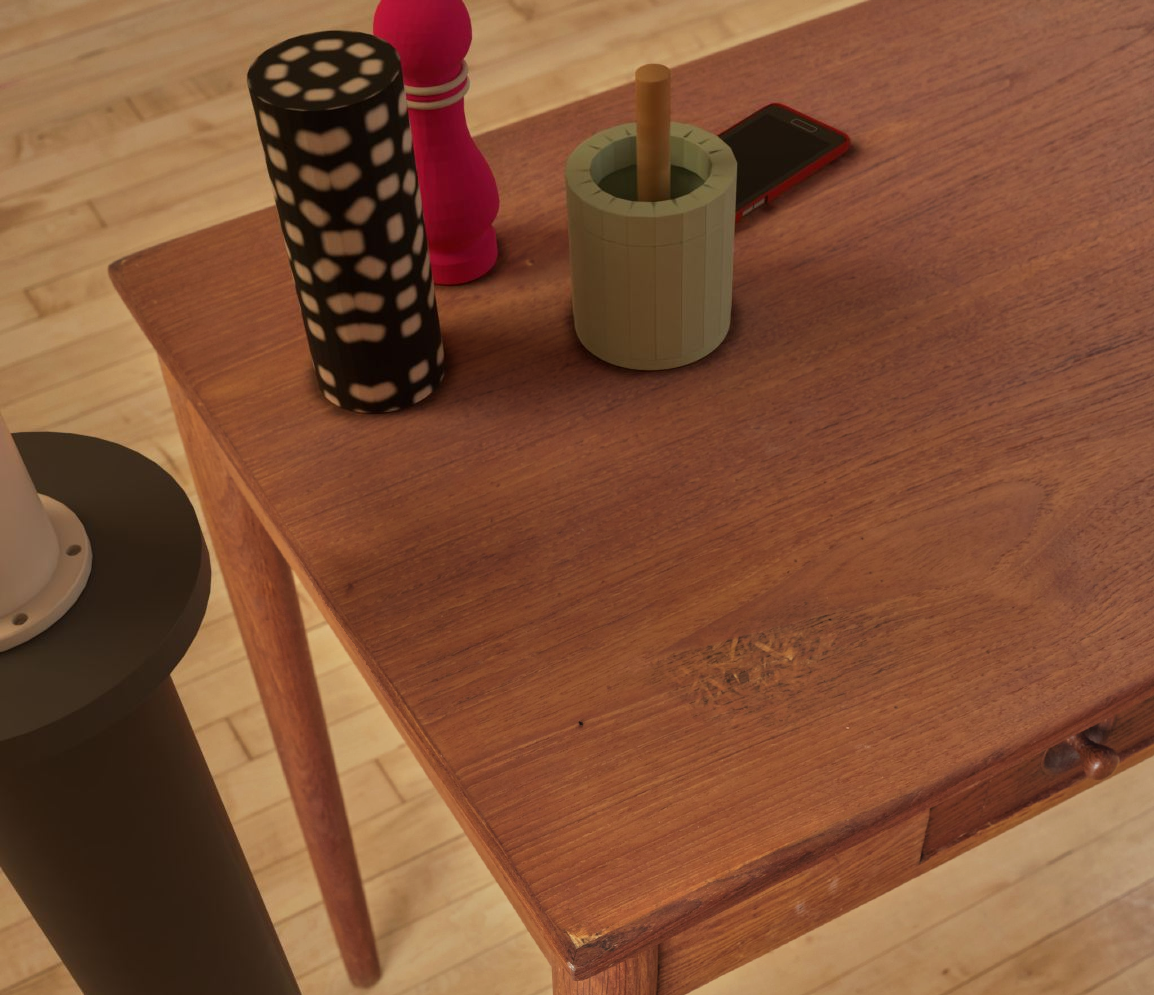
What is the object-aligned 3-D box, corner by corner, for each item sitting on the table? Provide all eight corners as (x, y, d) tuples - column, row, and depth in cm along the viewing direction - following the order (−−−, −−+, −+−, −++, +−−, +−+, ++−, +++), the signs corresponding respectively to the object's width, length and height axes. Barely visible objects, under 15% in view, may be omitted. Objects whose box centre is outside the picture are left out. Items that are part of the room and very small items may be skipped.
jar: (589, 381, 95) (581, 227, 86) (562, 286, 101) (552, 133, 92) (746, 357, 95) (754, 202, 87) (710, 264, 101) (714, 110, 93)
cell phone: (854, 149, 109) (855, 136, 108) (716, 238, 103) (717, 226, 102) (774, 111, 112) (774, 99, 111) (636, 196, 106) (636, 183, 106)
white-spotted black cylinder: (291, 375, 97) (215, 75, 81) (388, 314, 100) (334, 15, 84) (374, 431, 93) (312, 129, 77) (472, 367, 96) (432, 63, 80)
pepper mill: (516, 277, 102) (488, -24, 86) (413, 299, 101) (364, 0, 85) (490, 219, 106) (458, -78, 90) (391, 240, 105) (340, -56, 89)
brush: (630, 333, 96) (624, 95, 83) (619, 296, 99) (611, 59, 86) (691, 324, 96) (695, 85, 84) (678, 287, 99) (680, 50, 86)
